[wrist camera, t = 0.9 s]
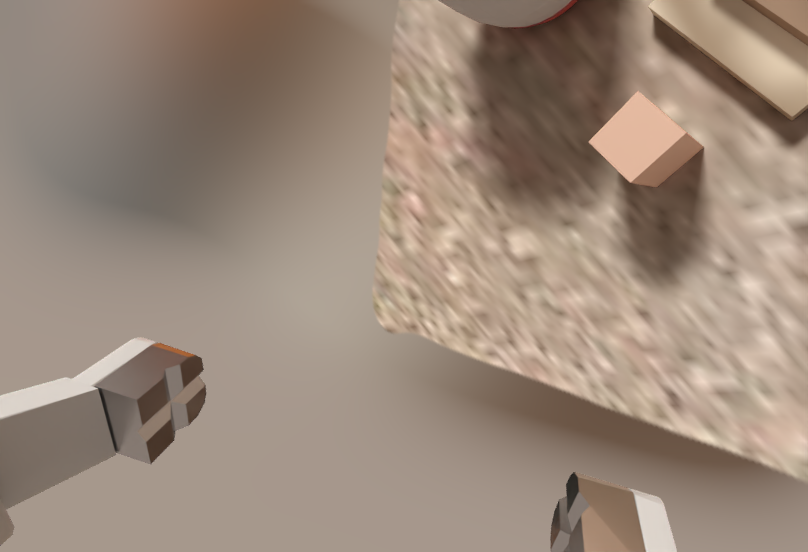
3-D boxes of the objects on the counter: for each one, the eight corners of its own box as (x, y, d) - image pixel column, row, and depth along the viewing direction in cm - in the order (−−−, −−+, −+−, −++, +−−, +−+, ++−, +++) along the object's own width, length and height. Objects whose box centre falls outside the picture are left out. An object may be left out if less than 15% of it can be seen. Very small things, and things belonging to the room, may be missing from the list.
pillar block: (663, 112, 38) (637, 90, 31) (703, 147, 36) (686, 132, 29) (620, 153, 40) (588, 141, 33) (656, 187, 39) (630, 182, 32)
